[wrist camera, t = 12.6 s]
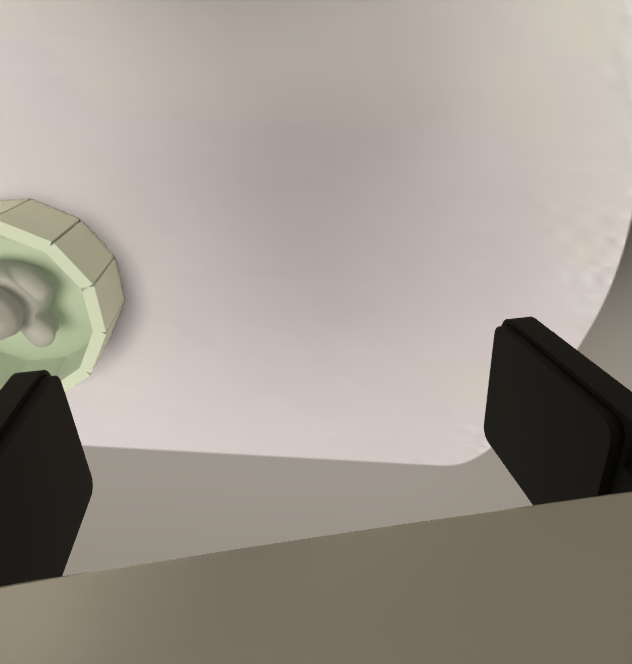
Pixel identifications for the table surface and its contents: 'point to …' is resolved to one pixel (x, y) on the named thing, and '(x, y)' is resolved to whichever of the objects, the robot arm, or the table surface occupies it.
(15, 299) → the rubber duck
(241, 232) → the table surface
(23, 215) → the pale green bowl
